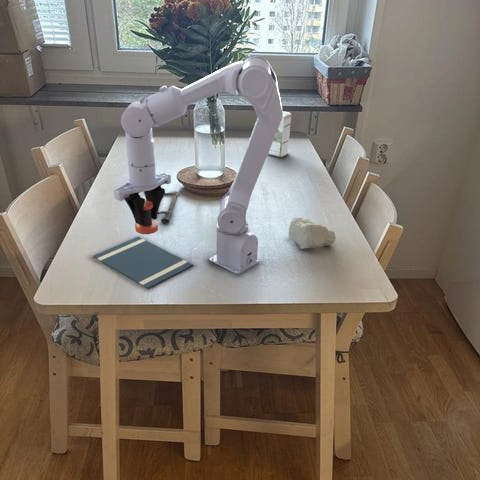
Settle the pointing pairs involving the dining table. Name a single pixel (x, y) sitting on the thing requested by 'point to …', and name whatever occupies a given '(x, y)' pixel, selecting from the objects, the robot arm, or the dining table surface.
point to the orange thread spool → (147, 221)
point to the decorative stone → (310, 233)
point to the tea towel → (143, 262)
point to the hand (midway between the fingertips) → (146, 220)
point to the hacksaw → (168, 213)
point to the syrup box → (281, 137)
